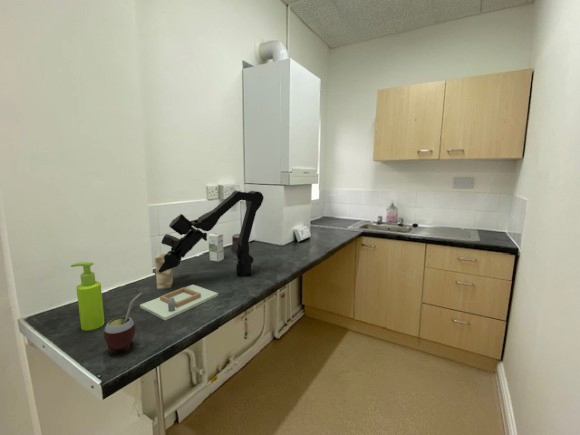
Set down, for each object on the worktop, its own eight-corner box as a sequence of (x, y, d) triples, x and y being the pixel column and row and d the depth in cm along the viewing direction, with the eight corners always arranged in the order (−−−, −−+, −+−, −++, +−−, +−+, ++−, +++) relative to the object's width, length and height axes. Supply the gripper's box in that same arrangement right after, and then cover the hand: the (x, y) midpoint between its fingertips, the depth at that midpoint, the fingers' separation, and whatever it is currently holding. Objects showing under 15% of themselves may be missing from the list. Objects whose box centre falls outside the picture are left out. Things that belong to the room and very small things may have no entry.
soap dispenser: (85, 320, 87) (78, 260, 84) (108, 319, 88) (102, 259, 85) (72, 331, 82) (64, 266, 78) (97, 330, 82) (90, 266, 79)
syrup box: (224, 258, 151) (223, 233, 149) (218, 262, 146) (217, 235, 144) (215, 257, 153) (214, 232, 151) (208, 260, 148) (207, 234, 145)
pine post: (172, 283, 118) (171, 253, 116) (170, 287, 113) (168, 257, 111) (160, 283, 117) (158, 254, 115) (157, 288, 112) (155, 257, 110)
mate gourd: (99, 353, 72) (94, 299, 70) (128, 337, 79) (123, 287, 77) (118, 361, 69) (113, 305, 67) (146, 343, 76) (142, 292, 74)
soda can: (231, 257, 155) (230, 235, 153) (234, 253, 162) (234, 233, 160) (243, 257, 154) (243, 236, 152) (246, 254, 161) (246, 233, 159)
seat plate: (193, 286, 114) (192, 275, 114) (218, 295, 106) (217, 283, 105) (140, 307, 96) (138, 294, 95) (165, 320, 88) (164, 305, 87)
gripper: (178, 223, 121) (152, 249, 120) (168, 232, 103) (138, 262, 102) (197, 240, 124) (172, 265, 123) (191, 252, 106) (162, 281, 105)
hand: (162, 268), depth 113 cm, fingers open, 9 cm apart
